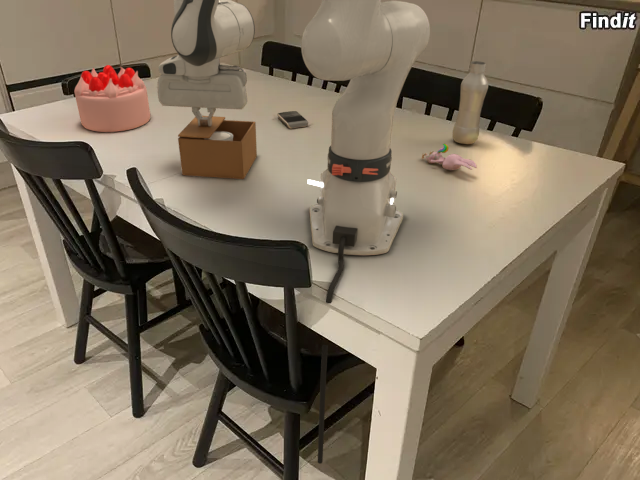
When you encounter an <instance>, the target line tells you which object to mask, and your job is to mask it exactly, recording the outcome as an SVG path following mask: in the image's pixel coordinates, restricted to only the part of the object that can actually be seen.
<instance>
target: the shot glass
mask: <svg viewBox="0 0 640 480" xmlns="http://www.w3.org/2000/svg"><path fill="white" fill-rule="evenodd" d="M204 139H205V140H222V141H233V134H231V133H229V132H224V131H217V132H214V133H213V134H212V136H211V137H210V138H204Z"/></svg>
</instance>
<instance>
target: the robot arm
mask: <svg viewBox="0 0 640 480" xmlns="http://www.w3.org/2000/svg"><path fill="white" fill-rule="evenodd" d="M255 33H256V25H255V21H254V17H253V15H252V13H251V12H250V10H249V8H248V7H246V6H245V4H243V3H241V2H236V1H233V0H173V21H172V23H171V30H170V37H171V38H170V39H171V43H172V46H173V47H174V50H175V52H176V53H177V54H178V55H174V56H171V57H169V58H167V59H165V60H163V61H162V62H161V63H160V64H159V65H158V66H157V67H158V73H159V74H160V75H159V76H158V79H157V99H158V102H159V103H160V104H161V106H162V107H163V106H164V107H179V108H180V107H181V108H191V113H192V114H193V115H194V118H195V117H196V118H197V119H198V126H208V127H211V126H212V117H213V116H214V115H215V113H216V111H217V109H223V110H243V108H245V107H246V105H247V104H248V93H247V86H246V84H247V81H248V80H247V79H248V78H247V72H246V70H245V69H244V68H242V67H240V65H237V64H235V65H228V64H221V60H220V59H221V58H224V57H228V56H230V55H234V54H236V53H239V52H242V51H244V50H246V49H248V48H250V46H251V45H252V44H253V41H254V40H255V39H254V38H255ZM430 36H431V24H430V20H429V18H428V16H427V14H426V12H425V11H424V9H423V8H421V7H420V6H419V5H418V4H416V3H411V2H407V1H402V0H387V1H382V0H321V2H320V4H319V7H318V9H317V11H316V13H315V14H314V16H313V17H312V18H311V20H309V22H308V23H307V24H306V26H305V28H304V29H303V33H302V35H301V41H300V50H301V56H302V60H303V62H304V64H305V67H306V69H307V70H308V71H309V72H310V74H311V75H312V76H313V77H314V78H316V79H318V80H321V81H333V82H335V81H338V82H339V81H342V82H344V81H349V83H348V84H347V86H346V88H345V90H344V91H343V92H342V94H341V95H340V96H339V97H338V98H337V99H336V101H335V103H334V105H333V108H332V112H331V132H330V133H331V135H330V146H329V147H328V152H327V168H326V169H325V170H323V171H322V172H321V173H320V181H317V180H314V179H307V185H312V186H315V187H319V188H320V189H319V197H317V199H316V204H313V205H311V206H310V207H309V211H308V212H309V221H310V223H309V224H310V230H311V231H310V232H311V240H312V241H311V242H312V245H313V247H315V248H317V249H318V250H322V251H325V252H328V253H333V254H337V261H338V262H337V263H338V267H337V270H336V272H335V274H334V276H333V278H332V280H331V281H330V283H329V285H328V289H327V292H326V297H325V303H326V304H332V302H333V297H334V292H335V289H336V286H337V284H338V282H339V281H340V278H341V276H342V274H343V273H344V269H345V259H344V258H345V255H347V256H348V255H349V256H375V255H383V254H386V253H388V252H389V251H390V249H391V247H392V244H393V243H394V240H395V238H396V235H397V233H398V231H399V229H400V226H401V224H402V222H403V220H404V214H403V212H402V211H400V210H398V209H397V205H395V202H396V198H397V196H398V191H397V190H396V189H397V177H395V175H393V173H392V172H391V166H392V160H393V158H392V157H393V156H392V155H393V151H392V148H391V140H392V132H393V126H394V125H393V124H394V117H395V113H396V112H395V111H396V108H397V103H398V101H399V98H400V94H401V92H402V90H403V87H404V84H405V82H406V79H407V77H408V76H409V73H410V71H411V69H412V68H413V66H414V64H415V62H416V61H417V60H418V59H419V57H420V56H421V55H423V53H424V51H425V50H426V48H427V47H428V44H429V41H430V38H431V37H430ZM201 108H202V109H206V110H207V111H206V112H207V113H209V114H208V115H207V116H208V117H203V116H204V115H202V113H201V112H200V110H201ZM328 349H329V344H322V345H321V360H320V361H321V363H320V379H319V381H320V382H319V383H320V384H319V407H318V409H319V410H318V439H317V440H318V442H317V443H318V444H317V463H318V464H320V465H321V464H323V461H324V459H323V458H324V438H325V411H326V391H327V390H326V388H327V387H326V386H327V369H328V352H329V350H328Z"/></svg>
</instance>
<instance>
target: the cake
mask: <svg viewBox="0 0 640 480" xmlns="http://www.w3.org/2000/svg"><path fill="white" fill-rule="evenodd" d="M74 96H75V101H76V106H77V110H78V111H77V112H78V116H79V120H80V124H81V125H82V127H83V128H85V129H86V130H89V131H93V132H100V133H101V132H102V133H114V132H115V133H116V132H123V131H128V130H132V129H136V128H140V127H142V126H145V124H148V122H149V121H150V120H151V111H150V103H149V97H148V96H149V95H148V90H147V85H146V84H145V82H144V81H143V79H141V78H140V77H139V71H138V70H136V71H135V70H134V69H133V68H132V67H126V68H123V67H122V66H120V70H119V72H118V73H117V72H116V70H115V69H114V68H113V66H112V65H110V64H106V65H105V66H104V67H103V70H102V71H99V72H98V73H97V71H96V70H95V67H92V68H91V72H90V71H89V70H84V71H82V72H81V75H80V78H79V80H78V82H77V84H76V85H75V87H74Z"/></svg>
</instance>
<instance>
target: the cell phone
mask: <svg viewBox="0 0 640 480" xmlns="http://www.w3.org/2000/svg"><path fill="white" fill-rule="evenodd" d="M277 117H278V119H279V120H280V121H281V122H282V123H283V124H284V125H285V126H286V127H287V128H288V129H291V130H292V129H297V128H306V127H307V126H308V125H309V120H307V119H306V118H305V116H303V115H302V114H301V113H299V112H298V111H296V110H291V111H283V112H278V113H277Z"/></svg>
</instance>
